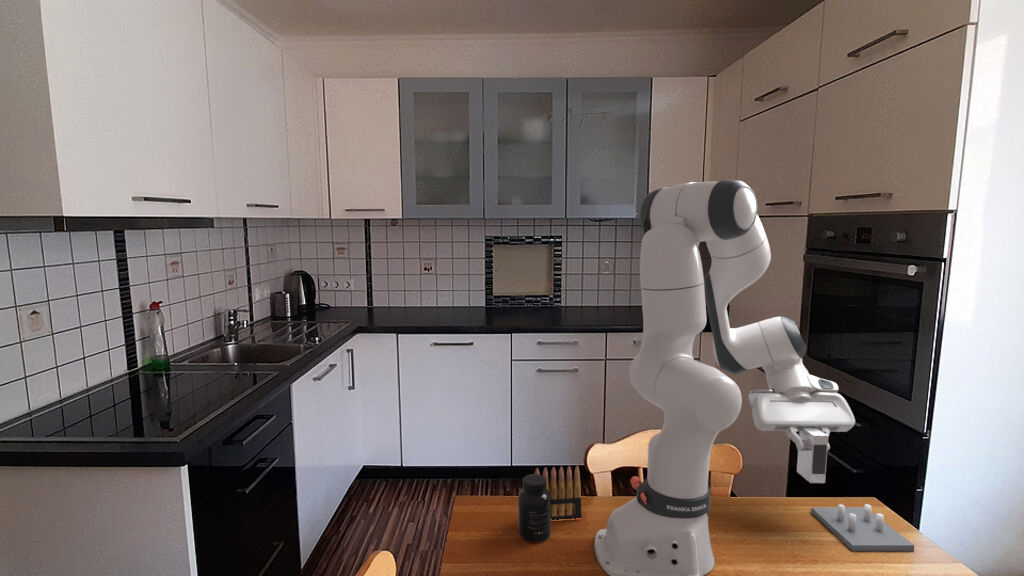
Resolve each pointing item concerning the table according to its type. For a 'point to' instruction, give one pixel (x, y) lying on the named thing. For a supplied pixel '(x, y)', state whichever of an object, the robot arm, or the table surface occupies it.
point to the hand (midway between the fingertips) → (814, 449)
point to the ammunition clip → (564, 494)
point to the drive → (813, 455)
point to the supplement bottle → (534, 509)
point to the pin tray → (861, 528)
